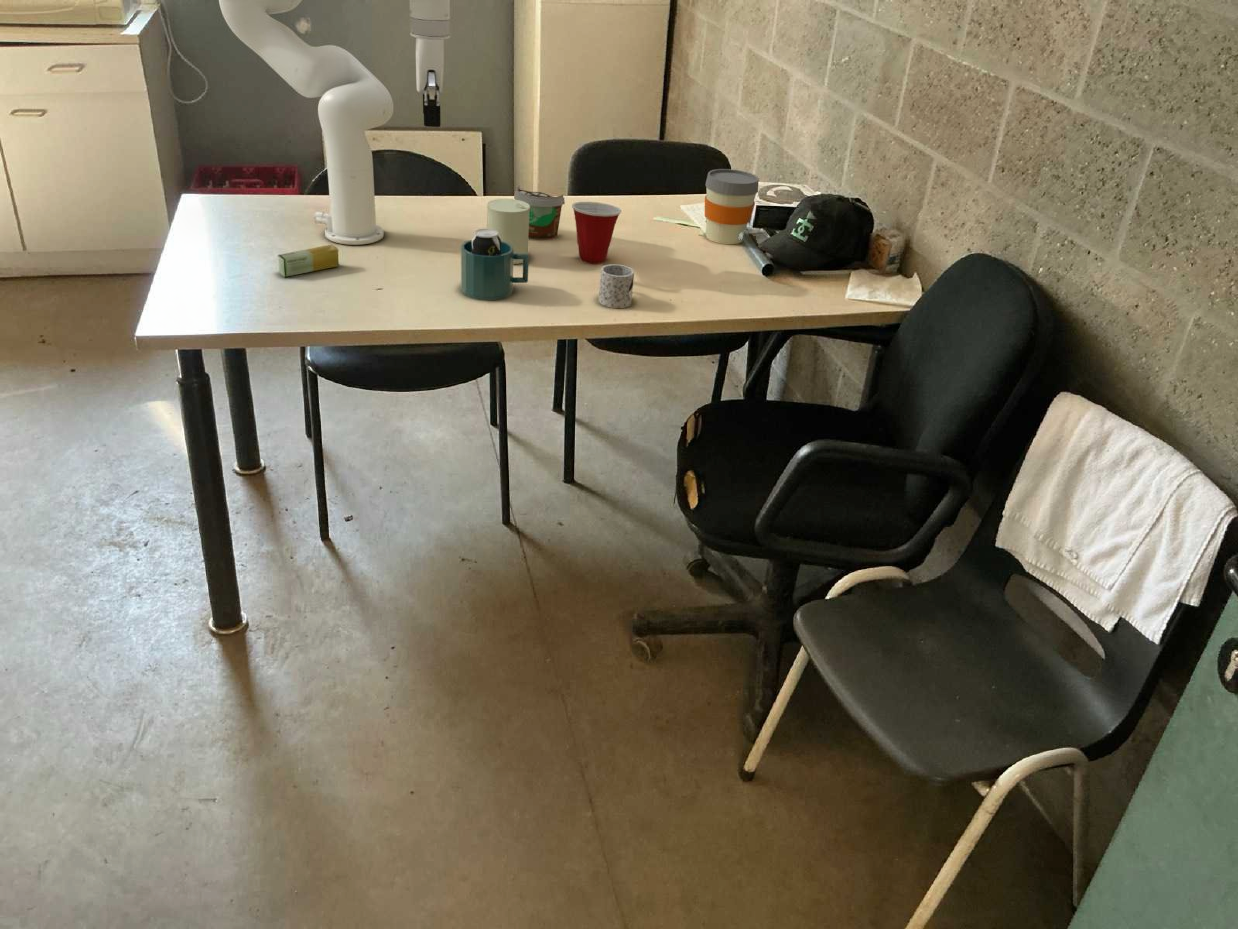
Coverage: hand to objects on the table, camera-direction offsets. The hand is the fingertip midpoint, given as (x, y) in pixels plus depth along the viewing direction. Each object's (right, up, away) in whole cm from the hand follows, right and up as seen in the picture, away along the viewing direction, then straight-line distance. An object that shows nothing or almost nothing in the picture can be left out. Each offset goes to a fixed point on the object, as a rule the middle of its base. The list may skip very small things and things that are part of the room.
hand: (431, 120), depth 194 cm
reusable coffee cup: (+63, -14, +41) cm, 77 cm away
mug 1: (+12, -34, +1) cm, 36 cm away
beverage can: (+11, -35, -1) cm, 36 cm away
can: (+13, -24, +18) cm, 33 cm away
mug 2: (+36, -35, +3) cm, 51 cm away
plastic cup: (+32, -24, +21) cm, 45 cm away
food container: (+18, -16, +31) cm, 39 cm away
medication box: (-25, -30, +2) cm, 39 cm away
